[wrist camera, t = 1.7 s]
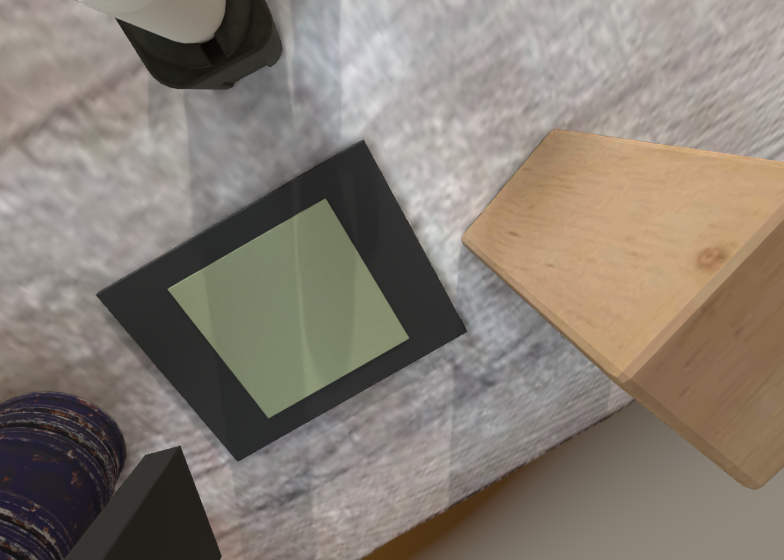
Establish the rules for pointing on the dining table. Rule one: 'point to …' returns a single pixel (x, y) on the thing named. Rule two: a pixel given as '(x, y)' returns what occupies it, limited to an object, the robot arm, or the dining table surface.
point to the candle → (197, 38)
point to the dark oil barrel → (54, 472)
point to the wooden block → (658, 280)
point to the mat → (289, 304)
